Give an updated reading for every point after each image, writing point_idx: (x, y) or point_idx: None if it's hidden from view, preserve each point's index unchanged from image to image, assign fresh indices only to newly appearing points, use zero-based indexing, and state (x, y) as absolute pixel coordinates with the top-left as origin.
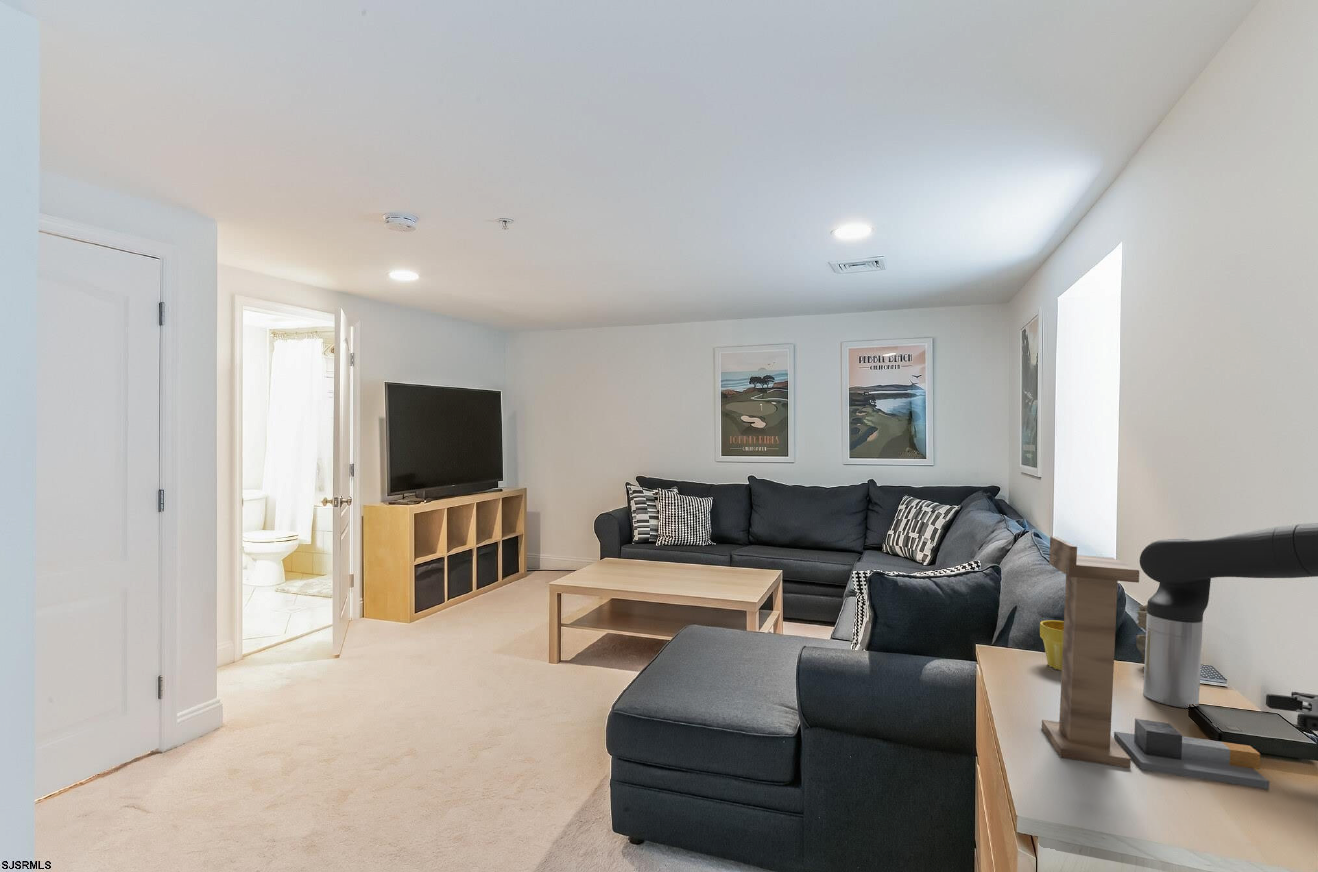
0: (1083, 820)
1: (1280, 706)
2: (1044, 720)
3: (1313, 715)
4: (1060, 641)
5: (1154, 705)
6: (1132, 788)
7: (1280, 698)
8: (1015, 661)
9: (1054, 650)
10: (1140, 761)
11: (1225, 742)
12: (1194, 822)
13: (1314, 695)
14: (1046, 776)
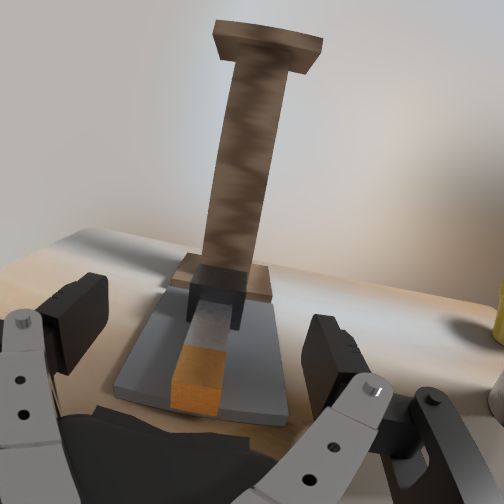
0: (78, 236)
1: (310, 372)
2: (266, 266)
3: (80, 291)
4: (501, 293)
5: (472, 393)
6: (120, 272)
7: (320, 341)
8: (476, 314)
9: (498, 307)
10: (171, 287)
11: (224, 356)
12: (53, 274)
13: (469, 463)
14: (144, 245)
